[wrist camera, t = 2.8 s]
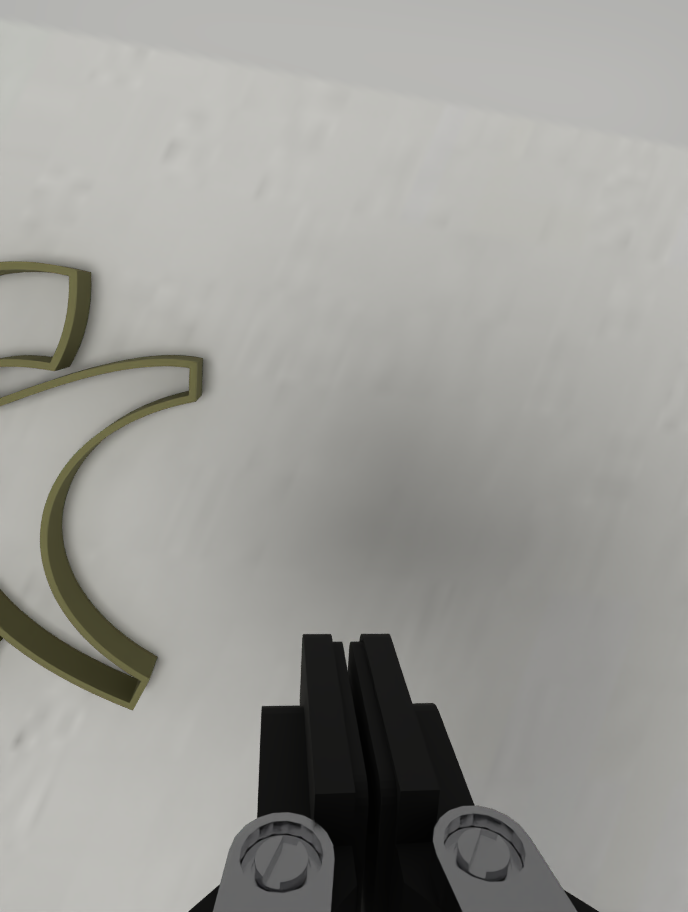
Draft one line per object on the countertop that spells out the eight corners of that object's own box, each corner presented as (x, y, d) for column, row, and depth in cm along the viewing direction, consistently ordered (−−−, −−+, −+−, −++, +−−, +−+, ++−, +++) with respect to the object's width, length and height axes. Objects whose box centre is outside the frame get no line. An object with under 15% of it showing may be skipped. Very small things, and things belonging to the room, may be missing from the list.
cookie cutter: (146, 720, 27) (135, 752, 25) (-154, 678, 26) (-190, 709, 24) (225, 303, 24) (220, 304, 22) (-120, 222, 22) (-159, 214, 20)
